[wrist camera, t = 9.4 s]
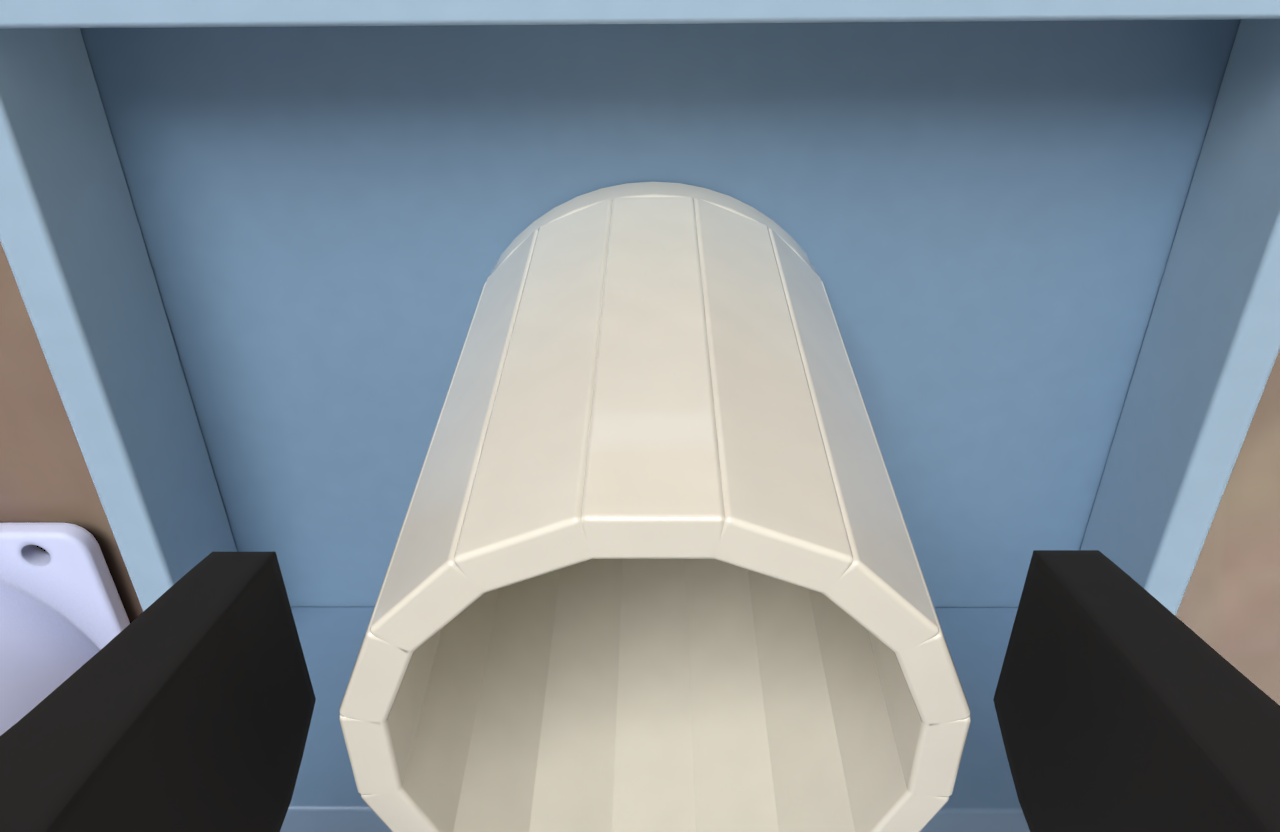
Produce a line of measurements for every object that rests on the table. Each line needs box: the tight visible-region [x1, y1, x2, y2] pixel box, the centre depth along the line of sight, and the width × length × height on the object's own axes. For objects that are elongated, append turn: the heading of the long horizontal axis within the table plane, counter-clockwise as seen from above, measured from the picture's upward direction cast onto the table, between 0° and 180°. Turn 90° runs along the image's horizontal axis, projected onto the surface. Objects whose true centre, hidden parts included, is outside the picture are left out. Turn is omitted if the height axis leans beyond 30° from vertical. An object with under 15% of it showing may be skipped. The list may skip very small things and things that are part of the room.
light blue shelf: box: [0, 0, 1280, 832], centre depth 13 cm, size 15×11×6 cm
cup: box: [339, 182, 971, 832], centre depth 11 cm, size 5×5×7 cm
